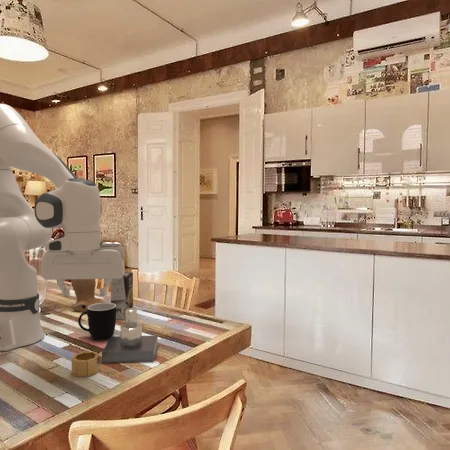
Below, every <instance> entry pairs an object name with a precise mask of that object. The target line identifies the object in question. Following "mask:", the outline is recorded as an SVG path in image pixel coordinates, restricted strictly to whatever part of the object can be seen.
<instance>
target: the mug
mask: <svg viewBox="0 0 450 450" xmlns="http://www.w3.org/2000/svg"><path fill="white" fill-rule="evenodd" d="M85 315H86V316H87V323H88V328H86V327H85V326H83V324H82V322H81V319H82V317H83V316H85ZM77 320H78V321H77V322H78V323H77V324H78V326H79V327H80V329H81V330H83V331H85V332H88V333H89V334H90V337H91V339H92V340H94V341H105V340H109V339H110V338H111V336H114V333H115V330H116V324H117V319H116V305H115V304H113V303H111V302H101V303H97V304H92V305H90V306H88V307H87V311H86V312H81V314H80V315H79V317H78V319H77Z"/></svg>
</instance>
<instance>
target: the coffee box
mask: <svg viewBox="0 0 450 450" xmlns="http://www.w3.org/2000/svg"><path fill="white" fill-rule="evenodd" d="M110 303H113V304H115V305H116V320H120V321H121V320H124V321H125V310H126V309H128V308H134V272H126V271H125V274H124V275H123V276H122V277H121V278H120V279H111V282H110Z"/></svg>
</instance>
